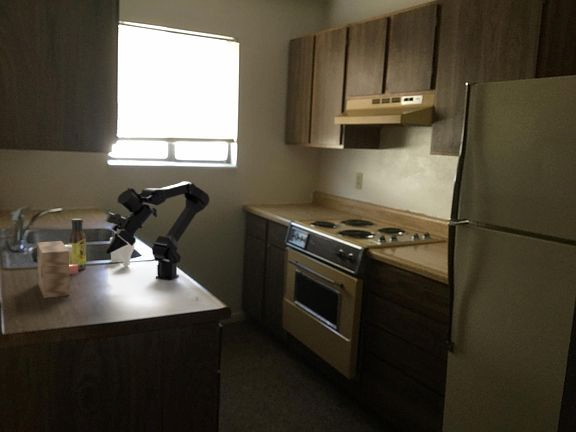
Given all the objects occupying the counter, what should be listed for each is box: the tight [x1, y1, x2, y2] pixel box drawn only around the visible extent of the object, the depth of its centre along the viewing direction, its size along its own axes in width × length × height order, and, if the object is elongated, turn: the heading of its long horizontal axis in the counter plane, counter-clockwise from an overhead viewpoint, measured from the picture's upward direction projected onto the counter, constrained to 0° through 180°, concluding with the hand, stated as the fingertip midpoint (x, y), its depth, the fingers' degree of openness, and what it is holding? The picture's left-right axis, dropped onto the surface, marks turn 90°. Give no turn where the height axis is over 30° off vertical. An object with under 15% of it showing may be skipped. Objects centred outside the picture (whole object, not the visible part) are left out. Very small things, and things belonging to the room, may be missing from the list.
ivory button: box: [64, 244, 72, 253], centre depth 188 cm, size 7×3×3 cm, turn 120°
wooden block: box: [36, 240, 71, 299], centre depth 182 cm, size 8×18×15 cm, turn 30°
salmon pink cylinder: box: [69, 264, 79, 275], centre depth 178 cm, size 7×3×3 cm, turn 120°
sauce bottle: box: [68, 218, 87, 271], centre depth 210 cm, size 6×6×20 cm
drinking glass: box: [109, 236, 123, 263], centre depth 225 cm, size 7×7×10 cm
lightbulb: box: [119, 242, 135, 267], centre depth 216 cm, size 6×6×11 cm
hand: (106, 252), depth 185 cm, fingers closed
